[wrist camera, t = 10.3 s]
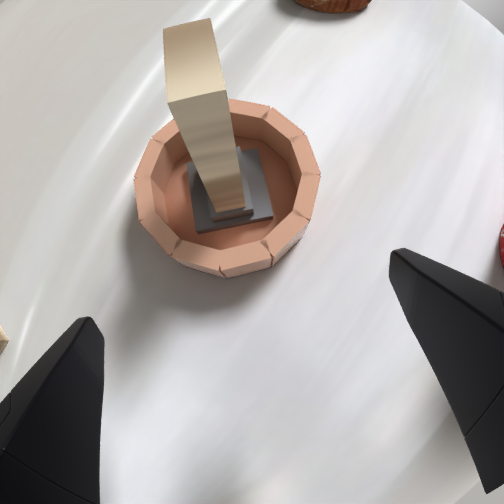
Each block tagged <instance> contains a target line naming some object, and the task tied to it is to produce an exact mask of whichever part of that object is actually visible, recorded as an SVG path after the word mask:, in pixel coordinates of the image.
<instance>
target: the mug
mask: <svg viewBox="0 0 504 504" xmlns="http://www.w3.org/2000/svg"><path fill="white" fill-rule="evenodd" d="M500 255H501V261H502V264H503V268H504V225H503V227H502V231H501V235H500Z"/></svg>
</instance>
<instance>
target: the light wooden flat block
mask: <svg viewBox="0 0 504 504" xmlns="http://www.w3.org/2000/svg"><path fill="white" fill-rule="evenodd" d="M8 341H9V339H8V338H7V336H6V334H5V332H4V331H3V329H2V327H1V325H0V354H1V352H2V350H3V349H4V347H5V346H6V344H7V343H8Z"/></svg>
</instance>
